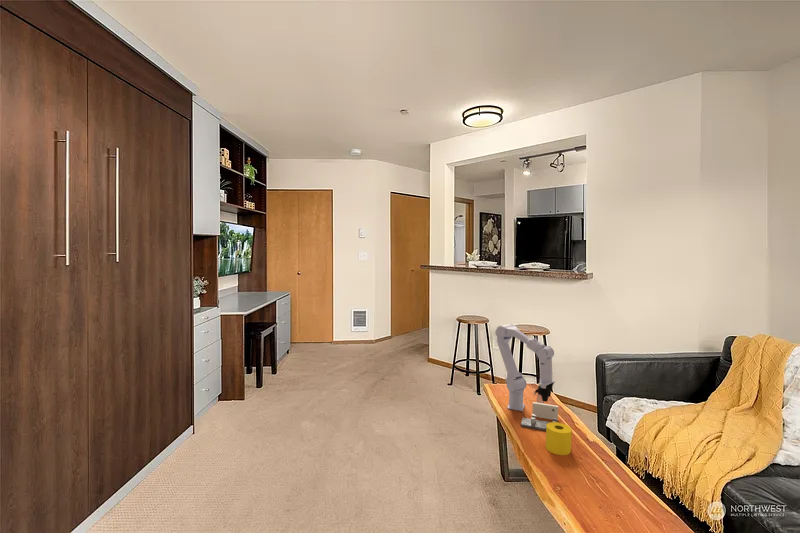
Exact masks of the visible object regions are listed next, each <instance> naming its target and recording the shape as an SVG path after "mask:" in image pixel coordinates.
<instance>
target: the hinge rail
mask: <svg viewBox="0 0 800 533" xmlns="http://www.w3.org/2000/svg"><path fill="white" fill-rule="evenodd" d="M551 422H558V421H557V419H556V418H553V420H552V421H551ZM548 423H550V421H546V420H541V419H540V420H539V419H537V417H536V415H533V414H531V417H529V418H528V417H522V420H521V423H520V427H521V428H527V429H533V430H539V431H544V432H546V425H547V424H548Z"/></svg>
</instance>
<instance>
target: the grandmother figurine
mask: <svg viewBox="0 0 800 533" xmlns="http://www.w3.org/2000/svg"><path fill="white" fill-rule="evenodd" d="M538 386H541V383H540V382H538ZM538 386H537V387H538ZM533 395H534V396H535V395H536V402H537V403H543V404H545V401H543V400H542V396H541V393H540V390H539V389H538V388H537V389H536V390H535V391H534V392H533Z"/></svg>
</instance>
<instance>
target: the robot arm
mask: <svg viewBox="0 0 800 533" xmlns="http://www.w3.org/2000/svg"><path fill="white" fill-rule="evenodd" d="M495 336H496V344H497V346H498V349H499V352H500V355H501V357H502V362H503V364H504V367H505V370H506V373H507V376H506V378H505V381H506V389H507V391H508V392H509V393H508V405H507V408H506V409H509V410H514V411H518V412H524V408H525V406H526V403H524V392H525V389H526V387H527V385H528V384H527V381H526V379H525V378H524V376H523V374H522V373H521V372H519V370H518V368H517V365H516V362H515V358H514V356H513V353H512V350H511V348H510V345H509V342H510V340H511V339H512V338H513V337H514V338H515V339H517V340H519V341H521V342H522V343H524V344H525V345H526V347H527V349H529V350H530V351H532V352H533V353H534V354H536V356H537V357H538V361H539V383H541V386H537V387H538V388H537V389H539V390H540V393H541V396H542V400H543V401H544V403H545V402H548V400H549V398H550V397H551V395H552V389H553V386H554V384H555V382H556V380H553V357H554V355H555V351H554V349H553V348H552V347H551V346H549V345H545V344H543V343H541V342H540V341H538V339H537V338H533V337H532V338H530V337H529V336H528V335H526V334H525V333H524V332H522V331H521V330H519V328H518V327H517V326H516V325H514V324H512V323H509V324H505V325H504V324H503V325H498V326H497V327H496V329H495Z"/></svg>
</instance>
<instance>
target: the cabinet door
mask: <svg viewBox="0 0 800 533" xmlns="http://www.w3.org/2000/svg"><path fill="white" fill-rule="evenodd" d="M532 414H533V415H536V418H541V419H547V420H552V421H553V418H556V419H557V422H558V421H559V405H557V404H556V405H555V404H548V403H544V404H543V403H537V401H536V402H535V401H533V402H532ZM532 414H531V415H532Z"/></svg>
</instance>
